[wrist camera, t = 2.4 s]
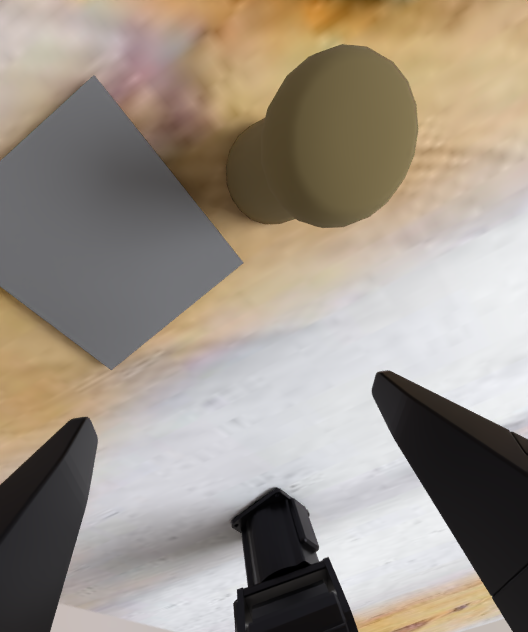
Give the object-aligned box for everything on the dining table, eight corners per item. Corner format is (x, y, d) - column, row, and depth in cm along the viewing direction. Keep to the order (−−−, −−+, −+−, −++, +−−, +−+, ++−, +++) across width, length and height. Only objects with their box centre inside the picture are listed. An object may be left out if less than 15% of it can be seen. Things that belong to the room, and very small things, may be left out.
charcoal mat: (115, 362, 20) (111, 370, 19) (-59, 228, 15) (-76, 229, 14) (241, 260, 19) (243, 262, 19) (100, 83, 15) (94, 75, 14)
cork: (254, 240, 19) (312, 278, 9) (207, 151, 17) (216, 70, 7) (329, 196, 19) (468, 187, 9) (292, 100, 17) (430, -58, 7)
